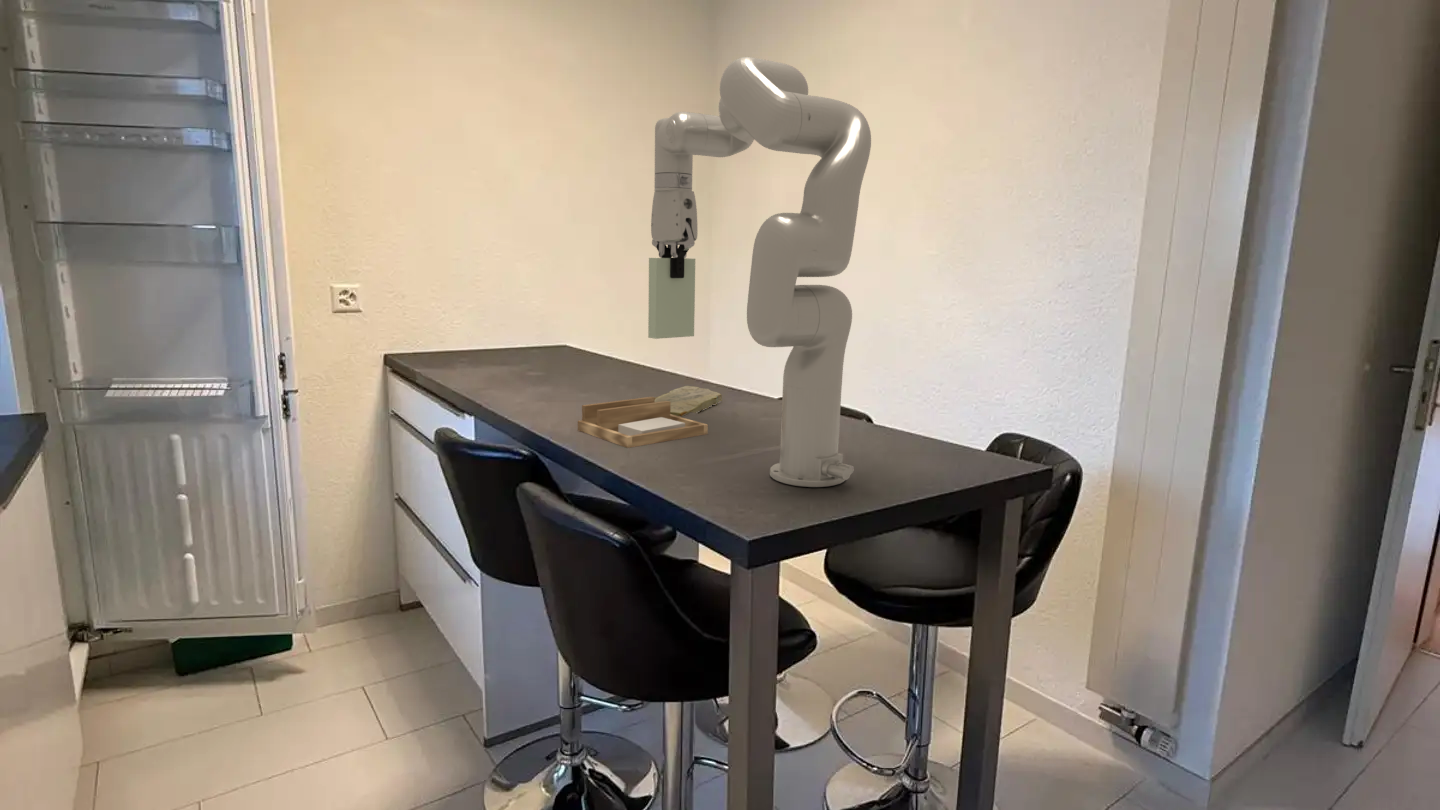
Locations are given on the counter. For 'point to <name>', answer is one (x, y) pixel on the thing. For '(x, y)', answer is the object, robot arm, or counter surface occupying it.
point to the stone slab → (689, 399)
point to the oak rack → (609, 415)
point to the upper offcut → (649, 426)
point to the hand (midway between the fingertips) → (672, 276)
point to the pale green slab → (671, 300)
